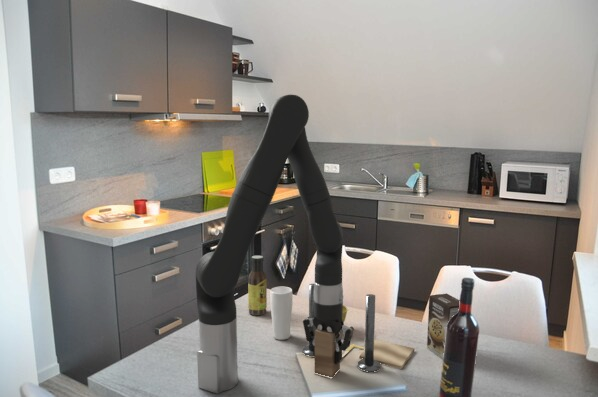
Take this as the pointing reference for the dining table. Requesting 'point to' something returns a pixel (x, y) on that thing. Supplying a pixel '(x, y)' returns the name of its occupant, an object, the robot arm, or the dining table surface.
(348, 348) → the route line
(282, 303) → the drinking glass
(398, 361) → the pad
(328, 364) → the walnut block
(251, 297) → the sauce bottle
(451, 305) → the coffee box
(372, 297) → the post right
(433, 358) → the dining table surface
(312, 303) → the post left
